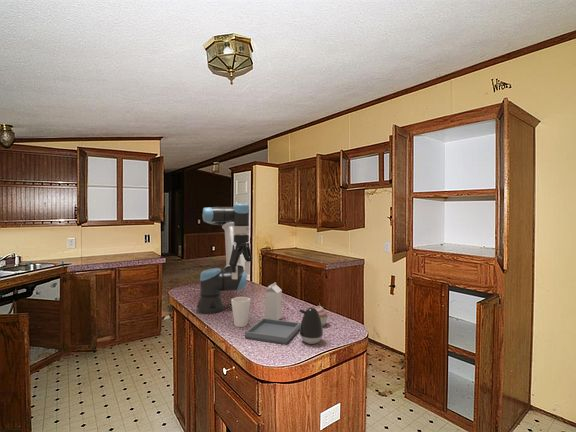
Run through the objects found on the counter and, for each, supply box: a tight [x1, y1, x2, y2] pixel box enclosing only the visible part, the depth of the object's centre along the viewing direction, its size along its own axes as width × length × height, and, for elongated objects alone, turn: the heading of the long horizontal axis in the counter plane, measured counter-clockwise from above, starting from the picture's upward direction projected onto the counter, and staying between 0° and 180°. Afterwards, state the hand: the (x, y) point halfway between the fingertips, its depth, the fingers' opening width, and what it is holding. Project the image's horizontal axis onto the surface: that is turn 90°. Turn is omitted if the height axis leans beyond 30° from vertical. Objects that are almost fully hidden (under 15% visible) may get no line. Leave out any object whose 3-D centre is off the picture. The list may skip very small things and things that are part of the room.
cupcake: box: [314, 305, 329, 327], centre depth 167 cm, size 9×9×10 cm
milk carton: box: [264, 282, 283, 320], centre depth 175 cm, size 7×7×19 cm
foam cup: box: [230, 296, 251, 328], centre depth 166 cm, size 10×9×13 cm
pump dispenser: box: [299, 306, 324, 345], centre depth 146 cm, size 10×10×15 cm
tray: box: [244, 317, 301, 346], centre depth 155 cm, size 20×20×3 cm
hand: (241, 276), depth 166 cm, fingers open, 13 cm apart
